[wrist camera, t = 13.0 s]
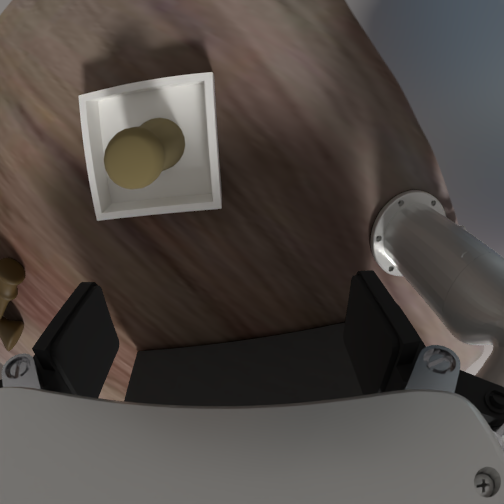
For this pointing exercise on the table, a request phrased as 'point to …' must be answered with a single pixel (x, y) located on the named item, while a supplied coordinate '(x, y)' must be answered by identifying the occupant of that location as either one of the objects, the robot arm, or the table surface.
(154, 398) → the laptop
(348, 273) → the table surface
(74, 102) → the table surface
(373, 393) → the robot arm
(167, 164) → the cork
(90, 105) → the box
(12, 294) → the kendama
